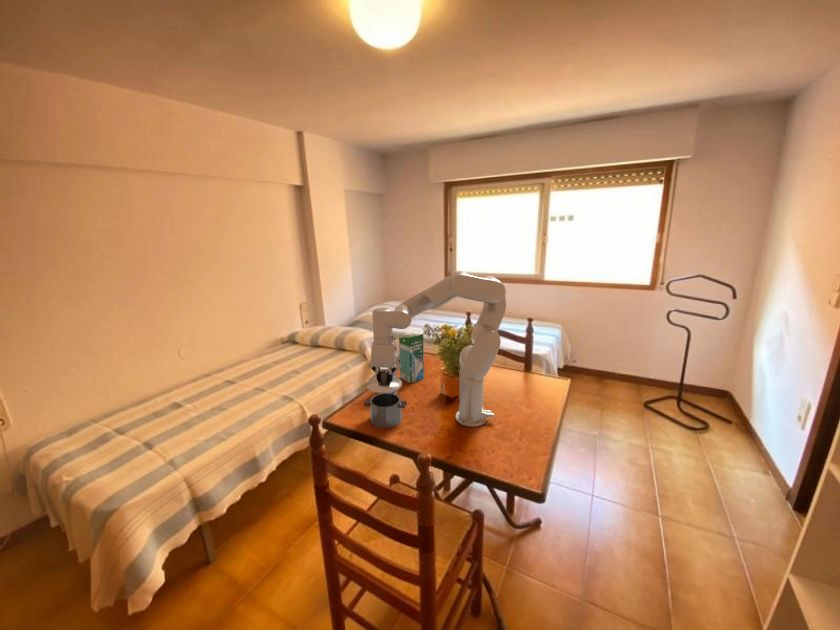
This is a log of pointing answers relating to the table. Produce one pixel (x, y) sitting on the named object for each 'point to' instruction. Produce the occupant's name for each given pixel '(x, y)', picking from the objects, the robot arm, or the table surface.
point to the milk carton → (411, 357)
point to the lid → (384, 384)
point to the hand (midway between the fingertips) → (384, 381)
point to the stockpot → (385, 410)
